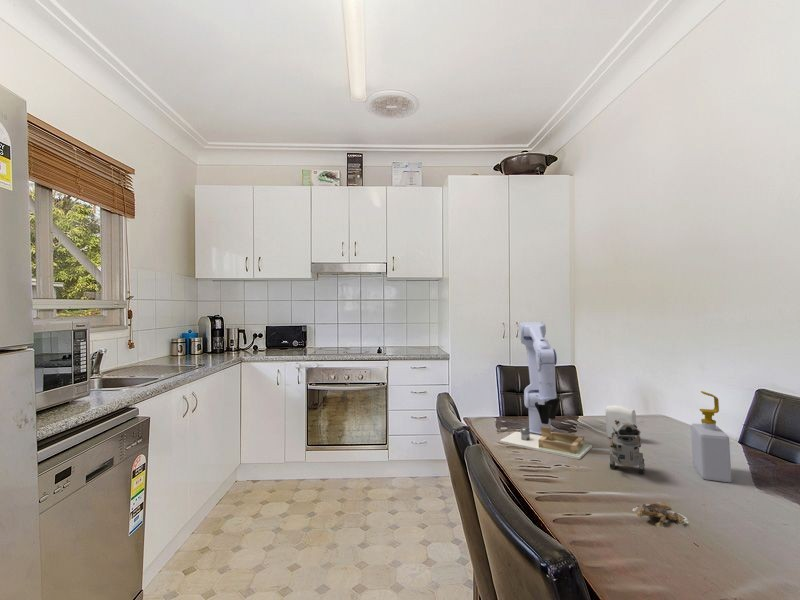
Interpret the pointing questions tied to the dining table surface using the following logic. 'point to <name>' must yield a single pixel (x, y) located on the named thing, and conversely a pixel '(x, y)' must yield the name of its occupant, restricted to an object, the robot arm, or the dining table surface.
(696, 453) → the soap bottle
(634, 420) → the photo printer
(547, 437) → the wooden square frame
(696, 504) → the dining table surface
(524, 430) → the peg
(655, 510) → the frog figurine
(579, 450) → the mat
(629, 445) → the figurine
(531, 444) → the board
